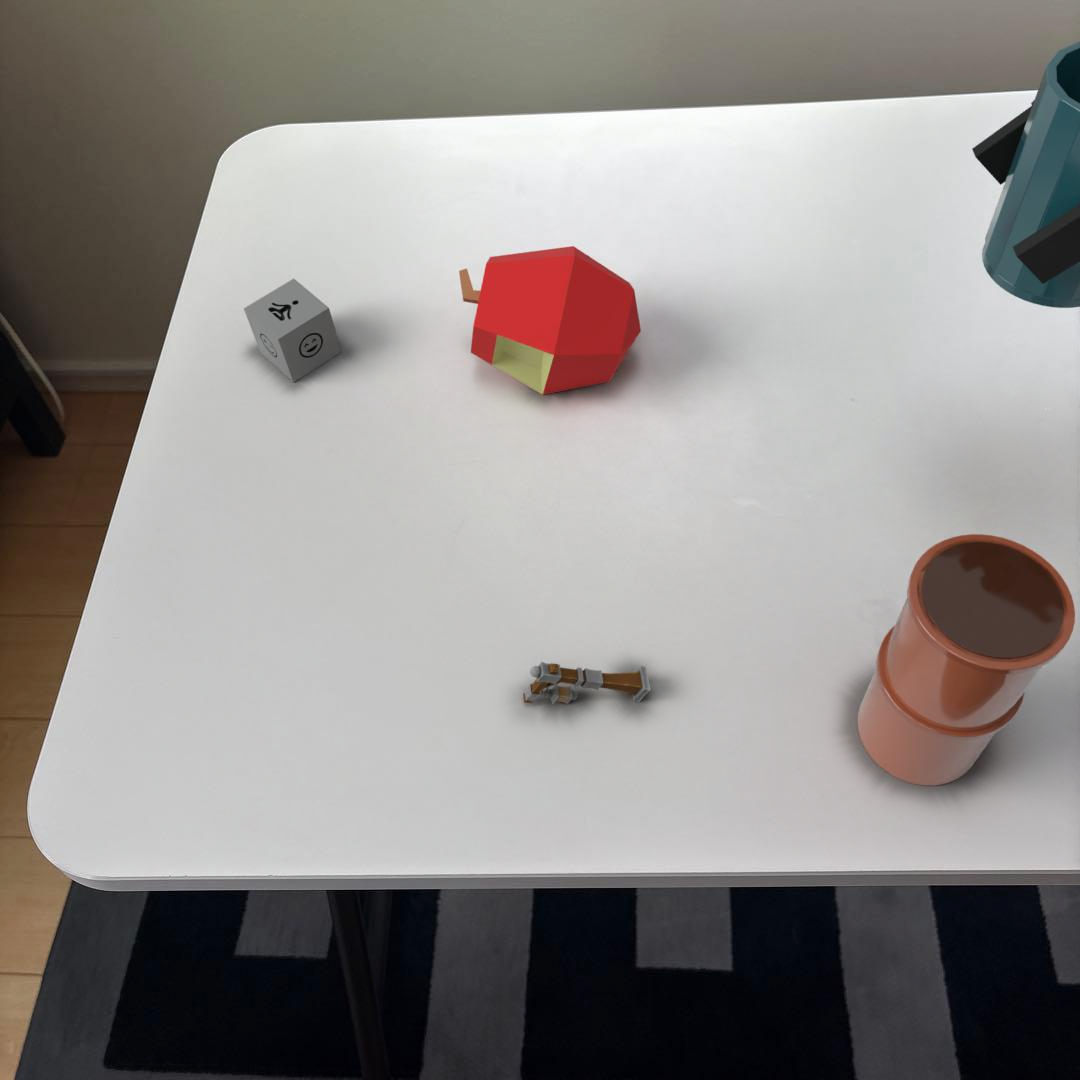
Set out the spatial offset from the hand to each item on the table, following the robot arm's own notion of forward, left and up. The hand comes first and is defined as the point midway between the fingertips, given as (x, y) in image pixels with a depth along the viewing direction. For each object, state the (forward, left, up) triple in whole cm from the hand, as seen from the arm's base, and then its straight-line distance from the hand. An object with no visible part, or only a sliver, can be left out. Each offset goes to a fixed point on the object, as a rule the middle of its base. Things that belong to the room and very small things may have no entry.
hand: (1006, 214), depth 56 cm
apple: (+9, +28, -26) cm, 39 cm away
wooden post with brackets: (-20, +19, -26) cm, 38 cm away
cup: (+1, -3, -4) cm, 5 cm away
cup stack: (-18, -2, -26) cm, 32 cm away
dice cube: (+6, +50, -26) cm, 57 cm away
